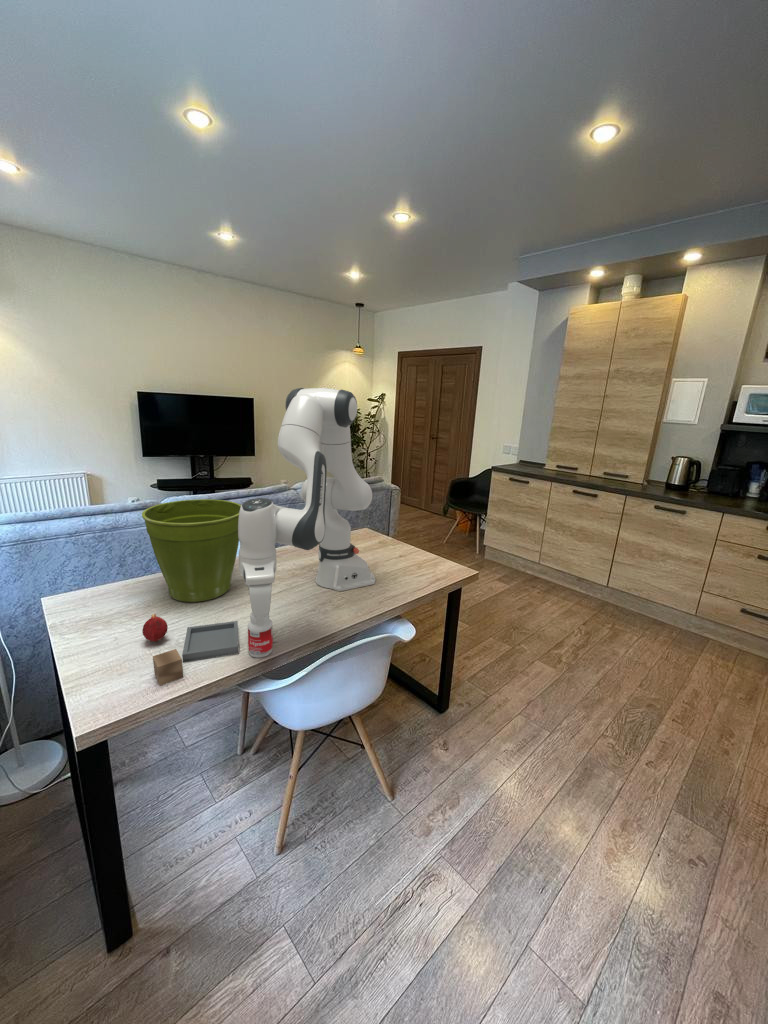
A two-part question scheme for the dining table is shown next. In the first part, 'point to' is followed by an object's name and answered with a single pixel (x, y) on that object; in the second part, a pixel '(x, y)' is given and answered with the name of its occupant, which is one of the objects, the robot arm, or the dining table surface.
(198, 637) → the tray
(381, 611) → the dining table surface
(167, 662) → the walnut block
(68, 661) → the dining table surface
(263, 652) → the pill bottle
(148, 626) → the red round piece
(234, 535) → the plant pot
